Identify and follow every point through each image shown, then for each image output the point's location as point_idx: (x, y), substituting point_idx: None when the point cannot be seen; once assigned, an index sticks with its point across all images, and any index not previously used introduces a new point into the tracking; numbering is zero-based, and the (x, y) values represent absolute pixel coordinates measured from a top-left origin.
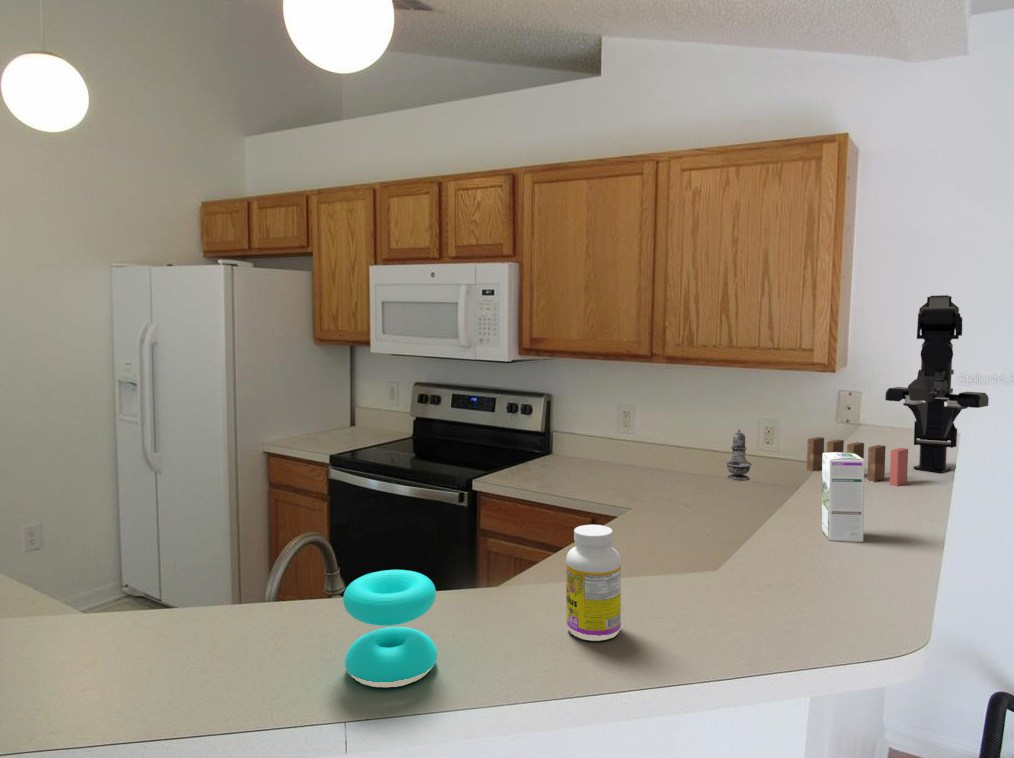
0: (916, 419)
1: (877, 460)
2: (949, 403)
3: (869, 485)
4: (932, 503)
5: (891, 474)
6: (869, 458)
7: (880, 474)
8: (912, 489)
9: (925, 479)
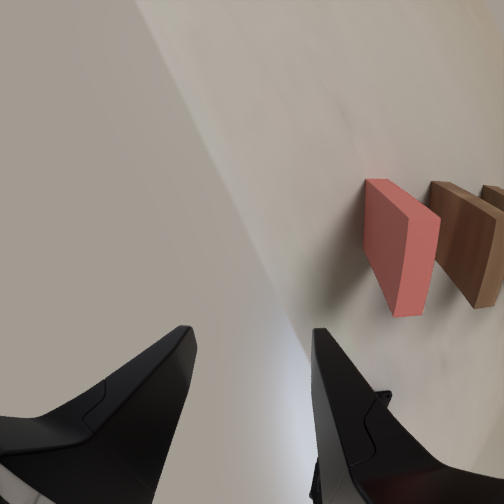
0: (376, 401)
1: (464, 221)
2: (8, 501)
3: (423, 124)
4: (183, 49)
5: (395, 187)
6: (487, 204)
7: None
8: (313, 172)
9: (340, 325)
